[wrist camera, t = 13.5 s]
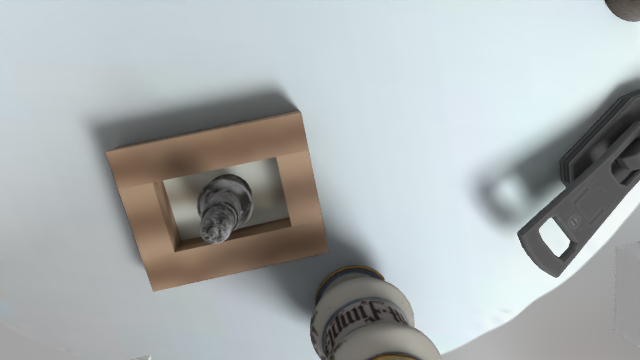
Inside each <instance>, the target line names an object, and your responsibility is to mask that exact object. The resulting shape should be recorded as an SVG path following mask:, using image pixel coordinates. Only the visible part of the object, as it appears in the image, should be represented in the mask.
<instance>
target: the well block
mask: <svg viewBox="0 0 640 360" xmlns="http://www.w3.org/2000/svg"><path fill="white" fill-rule="evenodd" d="M105 153H106V155H107V158H108V161H109V164H110V167H111V170H112V173H113V176H114V179H115V182H116V185H117V188H118V190H119V193H120V196H121V199H122V202H123V205H124V208H125V211H126V214H127V217H128V220H129V223H130V225H131V228H132V231H133V234H134V237H135V240H136V243H137V246H138V249H139V252H140V255H141V258H142V260H143V263H144V266H145V269H146V272H147V275H148V278H149V281H150V284H151V287H152V290H153V292H154V291H159V290H163V289H168V288H172V287H177V286H181V285H186V284H190V283H194V282H199V281H203V280H208V279H212V278H217V277H221V276H226V275H230V274H235V273H239V272H244V271H248V270H253V269H257V268H262V267H266V266H270V265H275V264H279V263H284V262H288V261H293V260H297V259H302V258H306V257H311V256H315V255H320V254H324V253H329V249H328V244H327V239H326V234H325V229H324V224H323V219H322V214H321V209H320V204H319V199H318V194H317V189H316V184H315V179H314V174H313V169H312V164H311V159H310V154H309V149H308V144H307V139H306V134H305V129H304V124H303V120H302V115H301V112H300V111H299V110H298V111H294V112H289V113H284V114H279V115H274V116H269V117H264V118H259V119H254V120H249V121H244V122H239V123H234V124H229V125H224V126H219V127H214V128H209V129H204V130H199V131H194V132H190V133H185V134H180V135H175V136H170V137H165V138H160V139H155V140H150V141H145V142H140V143H135V144H130V145H125V146H120V147H117V148H115V149H112V150H110V151H107V152H105ZM225 174H232V175H236V176H239V177H241V178H242V179H244V180H245V181H246V182H247V183H248V184H249V186H250V188H251V191H252V201H253V212H252V214H251V217H250V219H249V220H248V222H247V223H246V224H245V225H244V226H242V227H241V228H239V229H237V230H235V231H232V232H231V233H230V235H229V237H228V238H227V239H226V240H225V241H223V242H221V243H218V244H211V243H208V242H206V241H205V240H204V239H203V238H202V237H201V235H200V232H199V226H200V223H201V218H200V216H199V215H198V211H197V199H198V196H199V193H200V192H201V190H202V189H203V188H204V187H205V186H206V185H207V184H208V183H210V182H211V181H212V180H213V179H215V178H216V177H218V176H220V175H225Z"/></svg>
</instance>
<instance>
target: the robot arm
mask: <svg viewBox="0 0 640 360" xmlns="http://www.w3.org/2000/svg"><path fill="white" fill-rule="evenodd" d="M614 301H615V302H614V303H615V304H614V330H616V331H617V332H618V333H619V334H621V335H622V336H623V337H625V338H626V339H628V340H629V341H630V342H632V343H633V344H634V345H636V346H637V347H639V348H640V241H639V242H635V243H630V244H626V245H622V246H618V247H615V299H614ZM132 360H152V359H151V356H150V355H149V356H145V357H141V358H137V359H132Z"/></svg>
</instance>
